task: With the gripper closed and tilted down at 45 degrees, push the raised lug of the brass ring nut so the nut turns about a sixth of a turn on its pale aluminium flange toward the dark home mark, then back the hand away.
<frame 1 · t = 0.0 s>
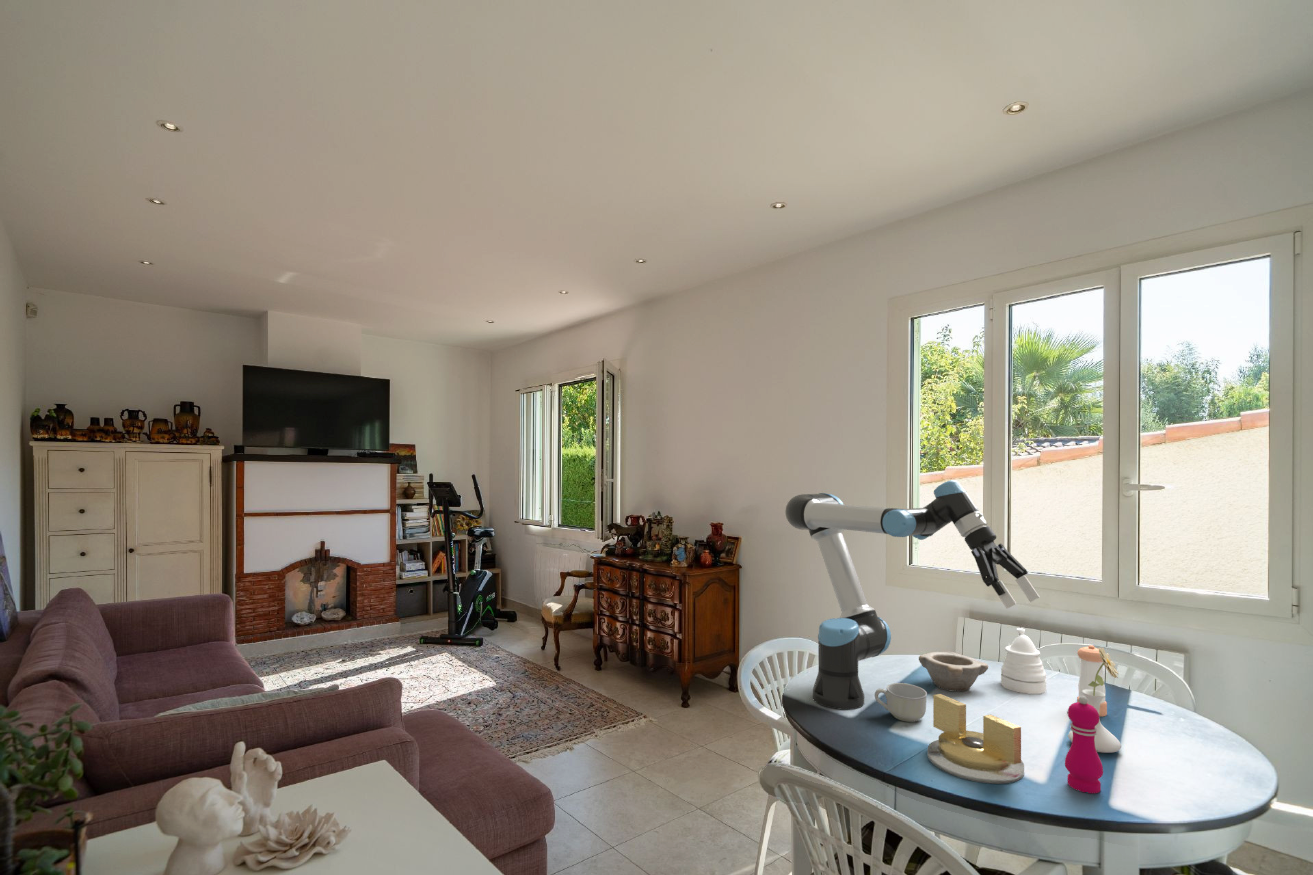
hand: (1023, 602, 174), 36 cm above the table, tool tilted 35°, fingers open, 13 cm apart
flange: (974, 762, 162), on the table
pepper mill: (1083, 787, 150), on the table
ring nut: (974, 731, 162), point 7 cm above the table, hinge at 0.0°
teacup: (900, 717, 190), on the table
salt shaker: (1091, 712, 196), on the table
flower in vase: (1096, 747, 171), on the table
honey pot: (1023, 687, 217), on the table
mortar: (952, 687, 216), on the table
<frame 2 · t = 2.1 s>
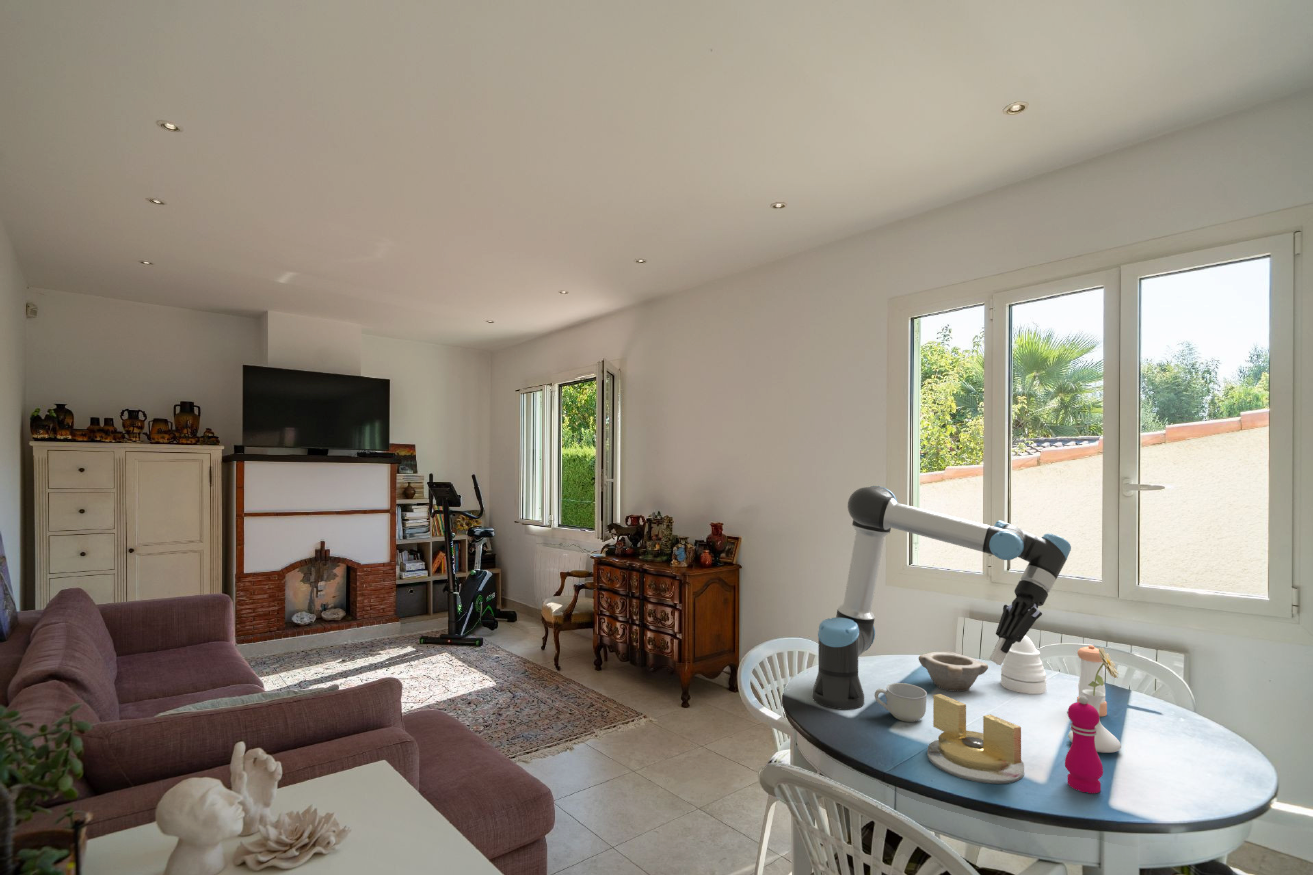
hand: (995, 661, 178), 20 cm above the table, tool tilted 35°, fingers closed
nothing on the table moved.
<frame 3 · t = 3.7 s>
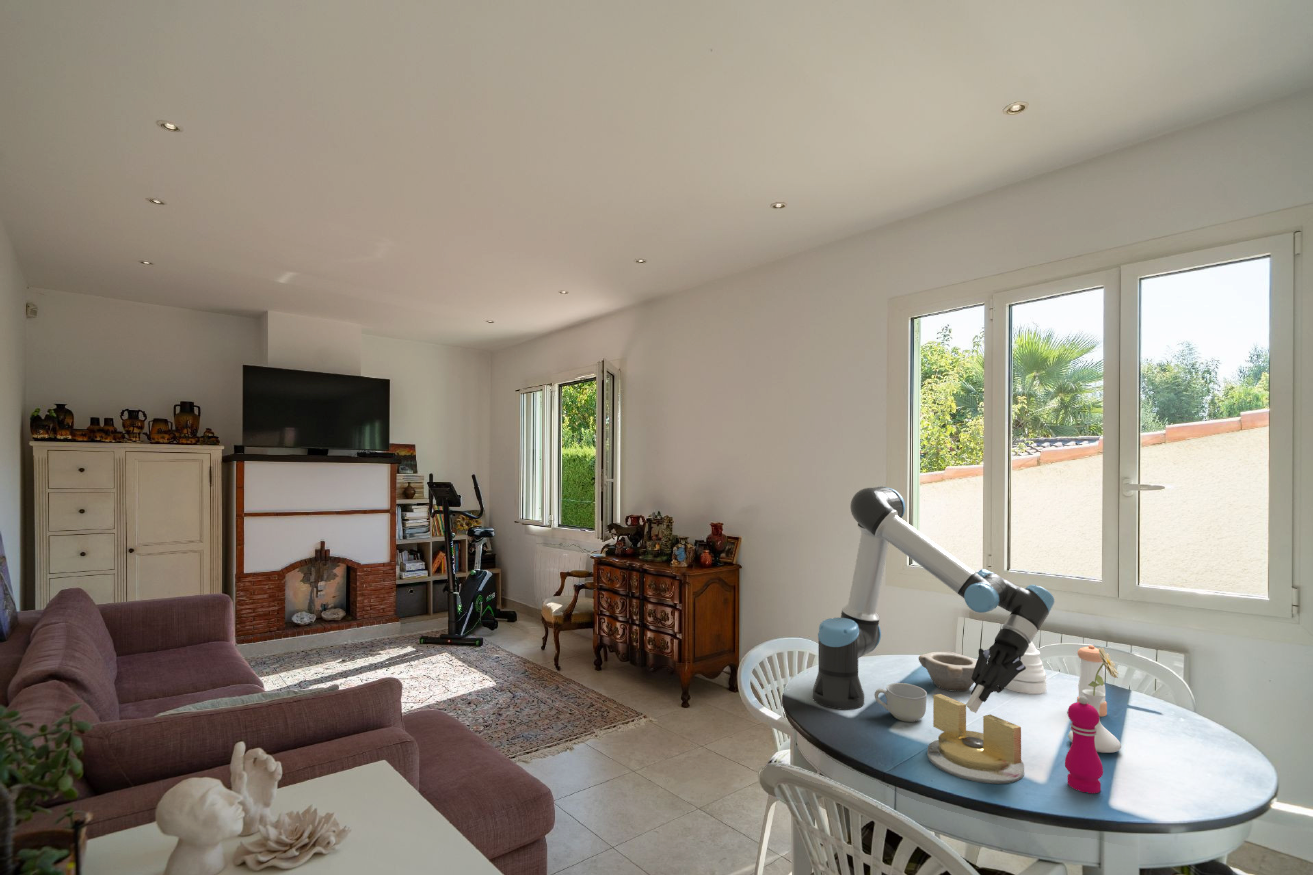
hand: (970, 708, 172), 9 cm above the table, tool tilted 45°, fingers closed
nothing on the table moved.
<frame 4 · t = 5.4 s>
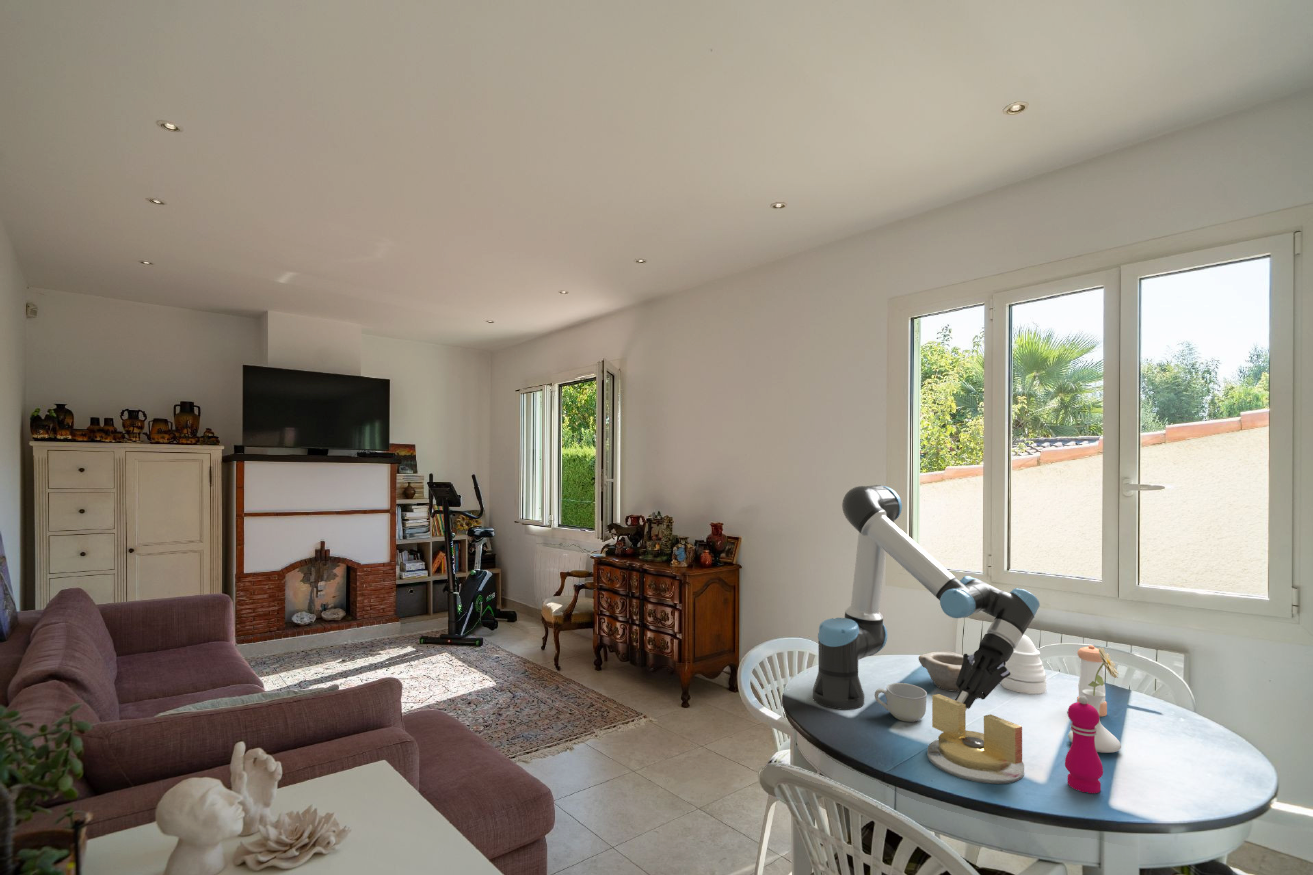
hand: (954, 715, 169), 8 cm above the table, tool tilted 45°, fingers closed
ring nut: (974, 731, 162), point 7 cm above the table, hinge at 2.2°, touching gripper
everything else where it was.
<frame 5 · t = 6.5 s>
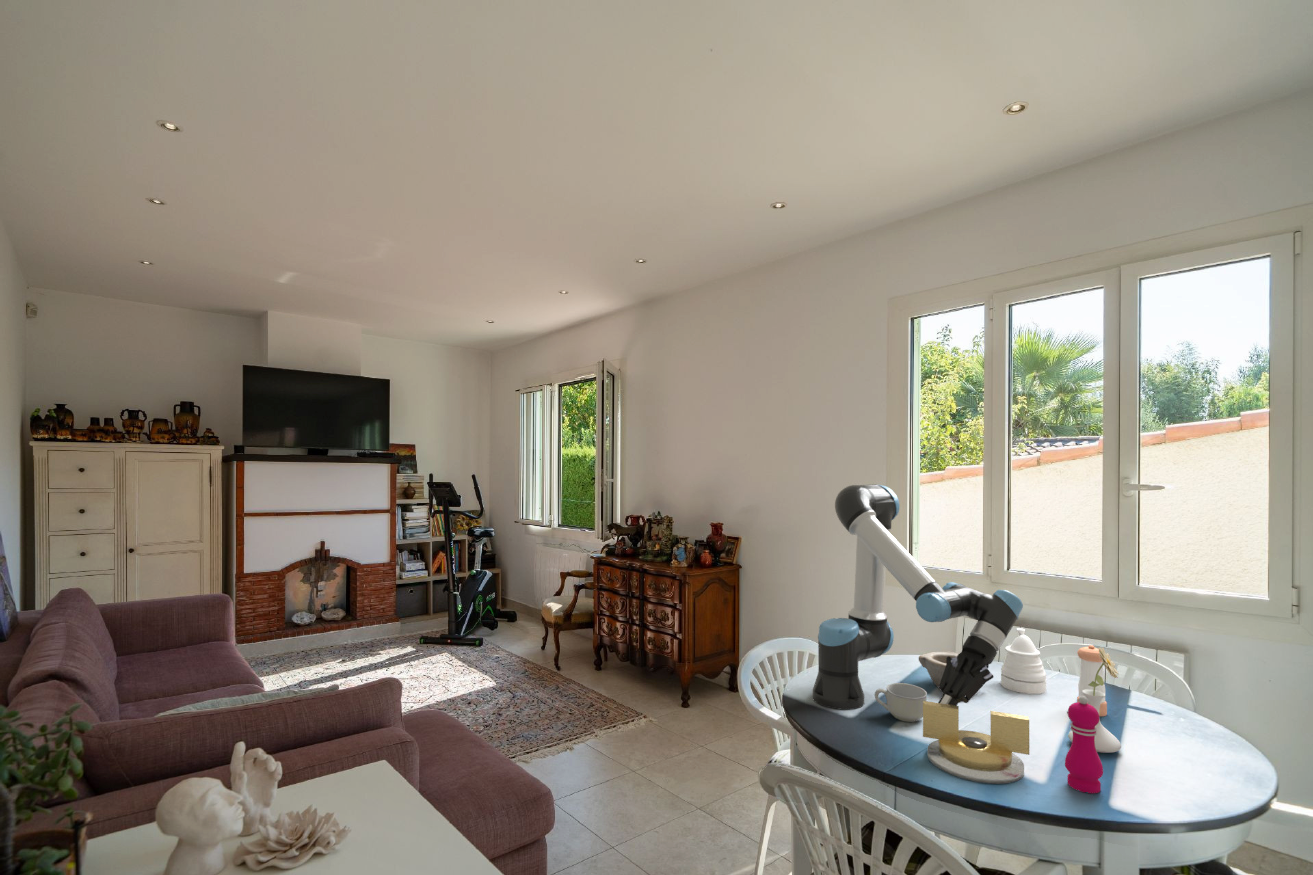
hand: (937, 719, 167), 8 cm above the table, tool tilted 45°, fingers closed
ring nut: (974, 731, 162), point 7 cm above the table, hinge at 41.6°, touching gripper
everything else where it was.
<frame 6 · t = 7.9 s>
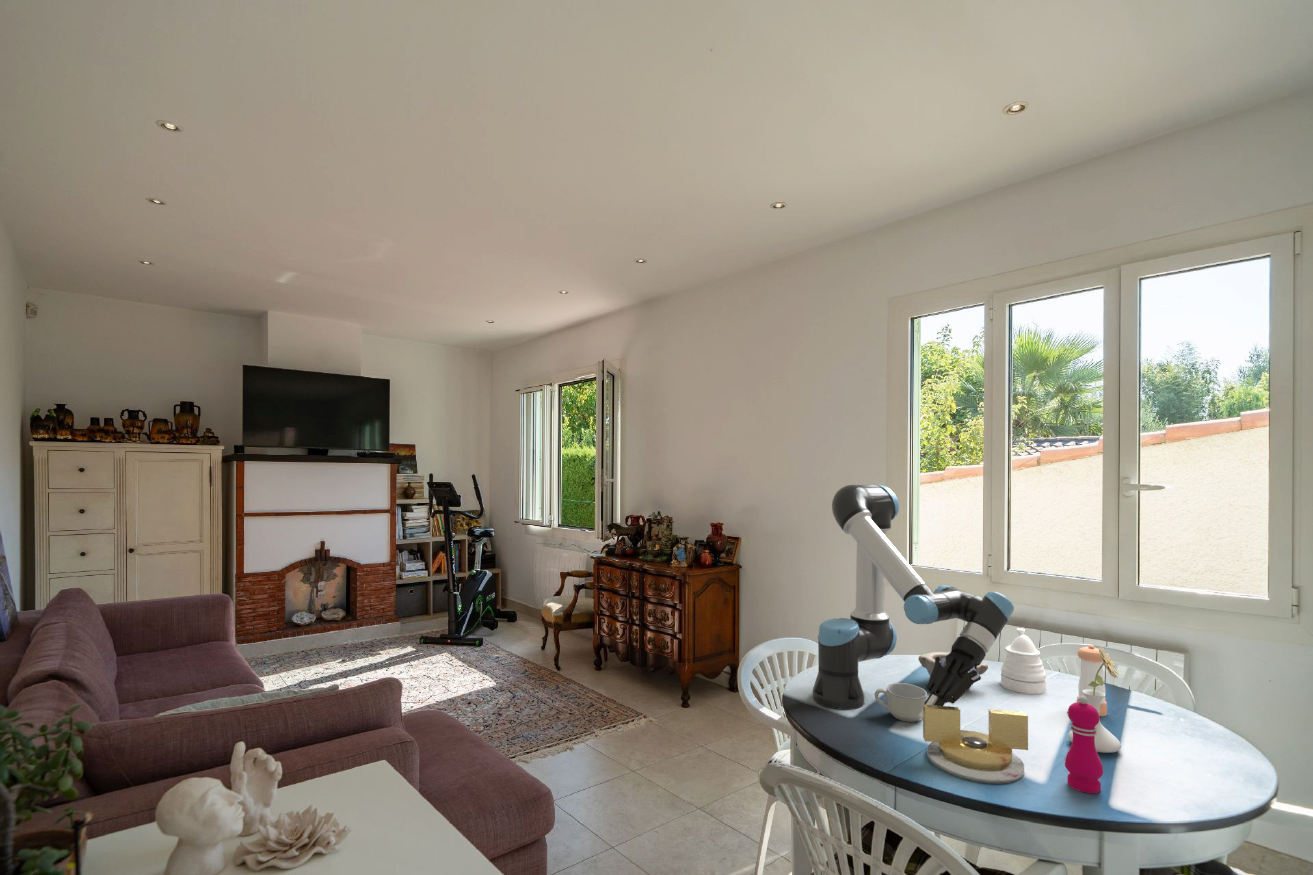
hand: (923, 719, 166), 8 cm above the table, tool tilted 45°, fingers closed
ring nut: (974, 731, 162), point 7 cm above the table, hinge at 55.5°, touching gripper
everything else where it was.
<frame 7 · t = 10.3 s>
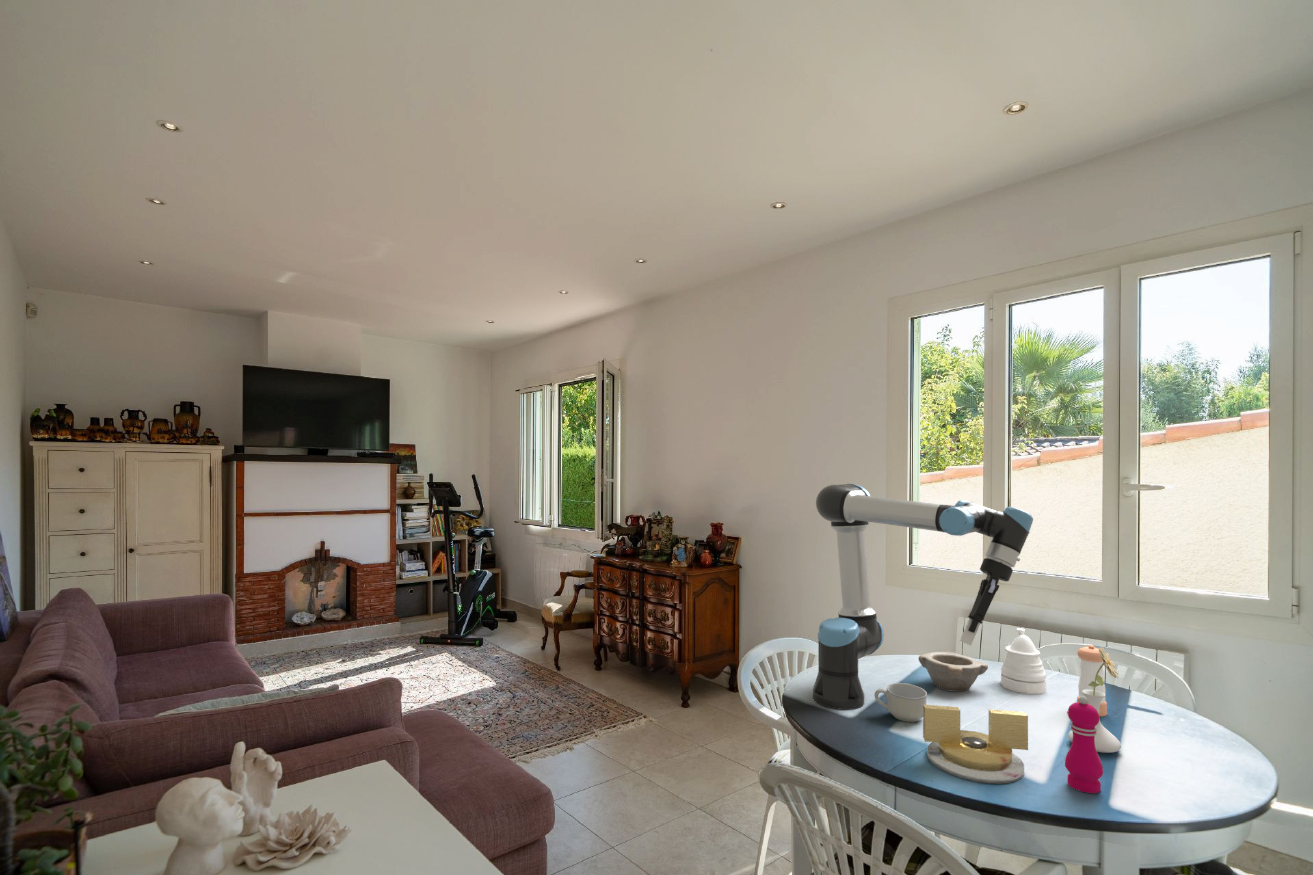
hand: (965, 643, 180), 24 cm above the table, tool tilted 25°, fingers closed
ring nut: (974, 731, 162), point 7 cm above the table, hinge at 55.6°
everything else where it was.
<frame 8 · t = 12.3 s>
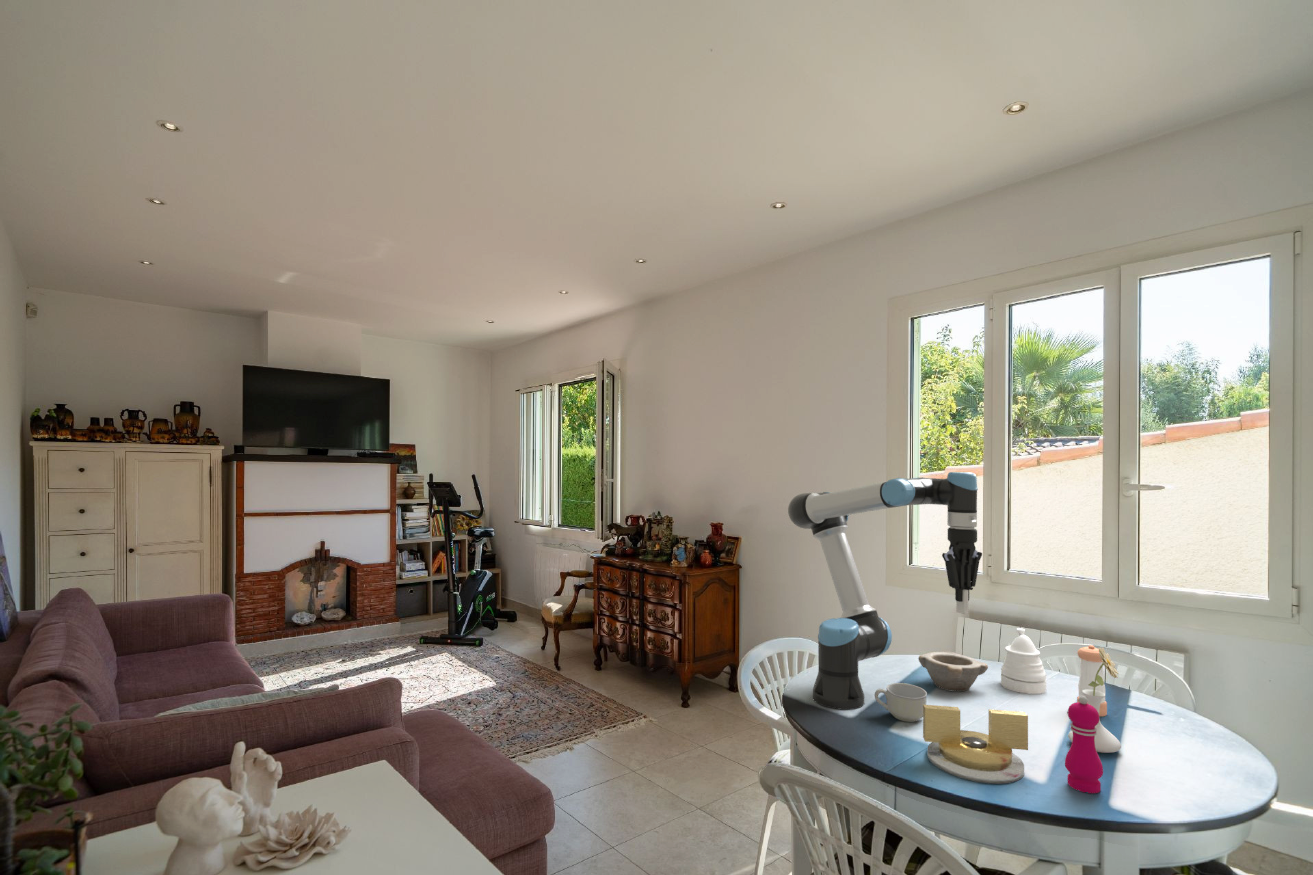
hand: (962, 612, 186), 30 cm above the table, tool pointing down, fingers closed
nothing on the table moved.
at the end: ring nut at +56° (first picture: +0°) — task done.
